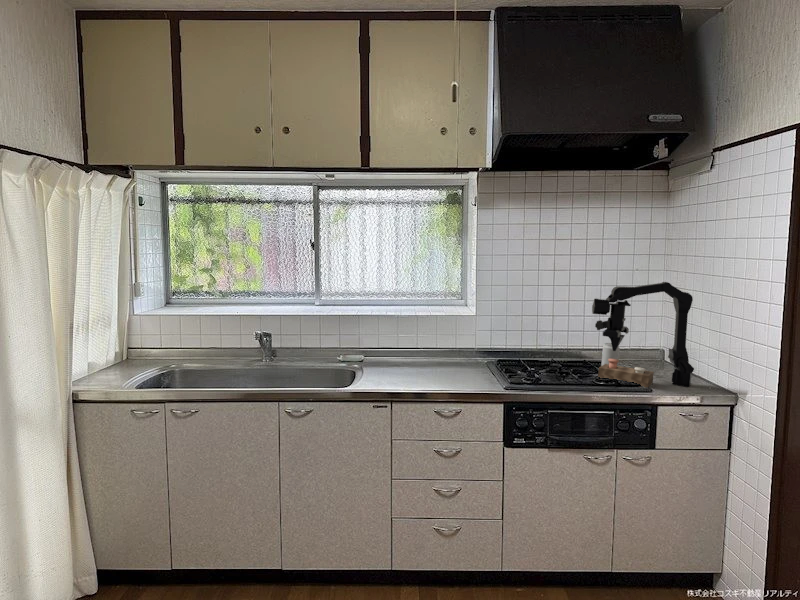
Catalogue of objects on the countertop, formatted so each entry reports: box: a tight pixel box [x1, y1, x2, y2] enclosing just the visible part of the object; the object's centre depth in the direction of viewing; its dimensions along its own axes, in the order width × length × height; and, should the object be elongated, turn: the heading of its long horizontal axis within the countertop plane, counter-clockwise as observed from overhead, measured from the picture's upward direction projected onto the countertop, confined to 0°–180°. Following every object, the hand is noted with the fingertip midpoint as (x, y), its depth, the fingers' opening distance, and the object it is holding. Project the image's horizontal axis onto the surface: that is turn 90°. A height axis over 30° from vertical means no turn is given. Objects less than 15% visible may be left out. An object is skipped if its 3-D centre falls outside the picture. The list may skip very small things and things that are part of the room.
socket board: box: [597, 364, 655, 389], centre depth 223 cm, size 20×10×5 cm, turn 53°
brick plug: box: [608, 359, 620, 369], centre depth 226 cm, size 4×4×6 cm
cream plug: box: [634, 366, 646, 374], centre depth 220 cm, size 4×4×6 cm
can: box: [600, 342, 621, 367], centre depth 246 cm, size 8×8×12 cm
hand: (614, 350), depth 226 cm, fingers closed
